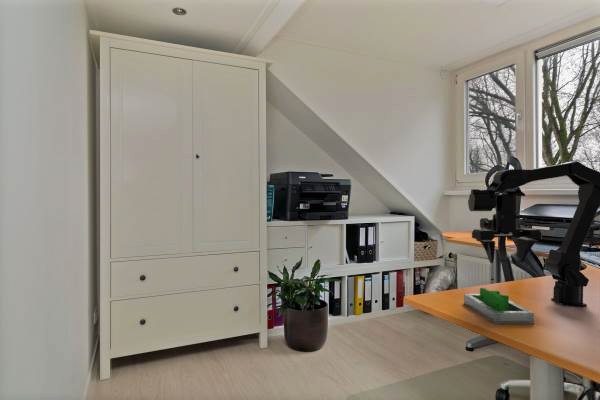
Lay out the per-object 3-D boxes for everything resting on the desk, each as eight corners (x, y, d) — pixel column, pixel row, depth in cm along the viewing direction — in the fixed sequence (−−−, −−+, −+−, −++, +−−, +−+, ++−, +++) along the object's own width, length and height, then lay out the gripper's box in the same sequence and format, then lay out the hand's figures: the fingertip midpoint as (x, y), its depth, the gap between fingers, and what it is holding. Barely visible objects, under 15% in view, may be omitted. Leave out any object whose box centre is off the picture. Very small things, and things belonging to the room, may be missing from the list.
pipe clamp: (514, 316, 96) (515, 299, 96) (500, 316, 96) (500, 299, 96) (492, 303, 107) (492, 287, 107) (479, 303, 107) (479, 287, 107)
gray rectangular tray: (497, 303, 110) (497, 293, 109) (533, 324, 93) (534, 313, 92) (463, 303, 110) (464, 293, 109) (493, 323, 93) (494, 312, 92)
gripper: (519, 209, 120) (519, 257, 120) (463, 210, 119) (463, 258, 120) (543, 211, 109) (543, 264, 109) (481, 212, 108) (481, 265, 108)
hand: (506, 262), depth 112 cm, fingers open, 9 cm apart
